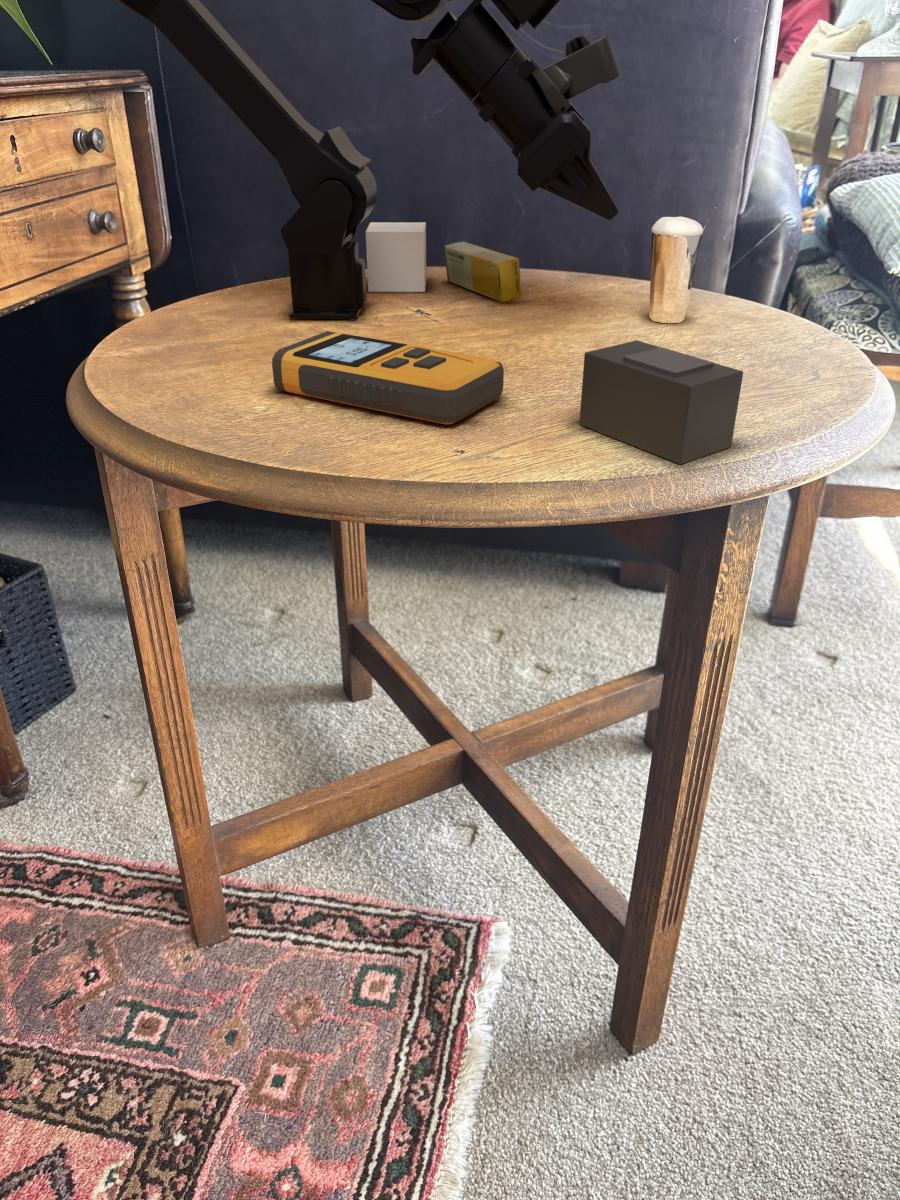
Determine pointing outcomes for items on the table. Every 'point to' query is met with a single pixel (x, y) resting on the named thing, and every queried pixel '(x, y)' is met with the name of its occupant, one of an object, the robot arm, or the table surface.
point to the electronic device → (388, 376)
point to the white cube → (396, 256)
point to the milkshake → (673, 266)
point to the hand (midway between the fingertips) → (614, 215)
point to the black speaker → (660, 400)
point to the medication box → (483, 271)
